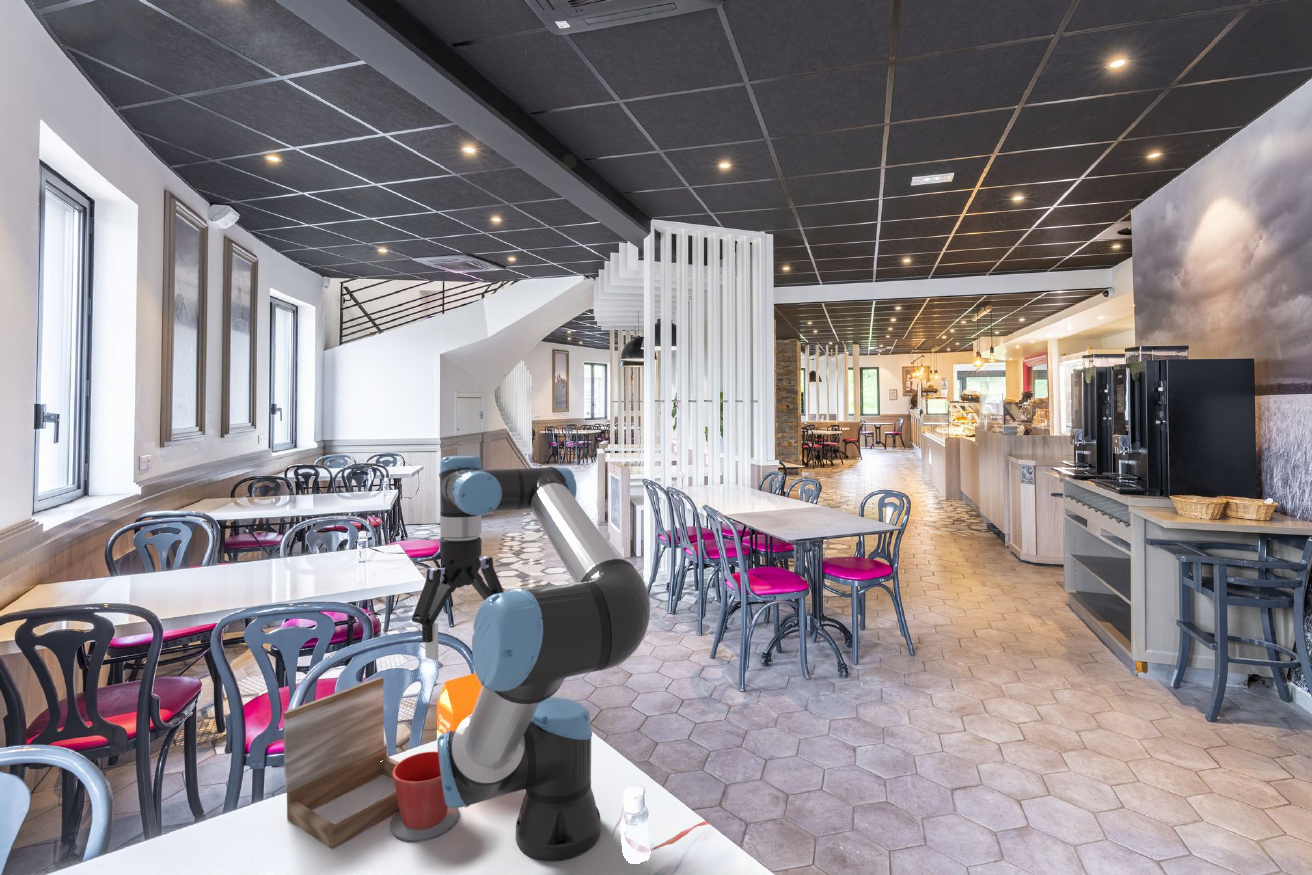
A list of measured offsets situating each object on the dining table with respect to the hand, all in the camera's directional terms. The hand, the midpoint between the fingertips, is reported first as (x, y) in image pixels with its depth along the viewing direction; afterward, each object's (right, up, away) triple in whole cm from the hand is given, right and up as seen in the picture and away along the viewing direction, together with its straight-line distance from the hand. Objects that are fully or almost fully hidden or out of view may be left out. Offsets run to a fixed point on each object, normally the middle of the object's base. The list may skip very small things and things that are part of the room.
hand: (461, 647), depth 124 cm
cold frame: (-20, -31, +1) cm, 37 cm away
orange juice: (-3, -31, +14) cm, 34 cm away
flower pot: (-6, -30, -4) cm, 31 cm away
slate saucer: (-6, -31, -4) cm, 32 cm away
